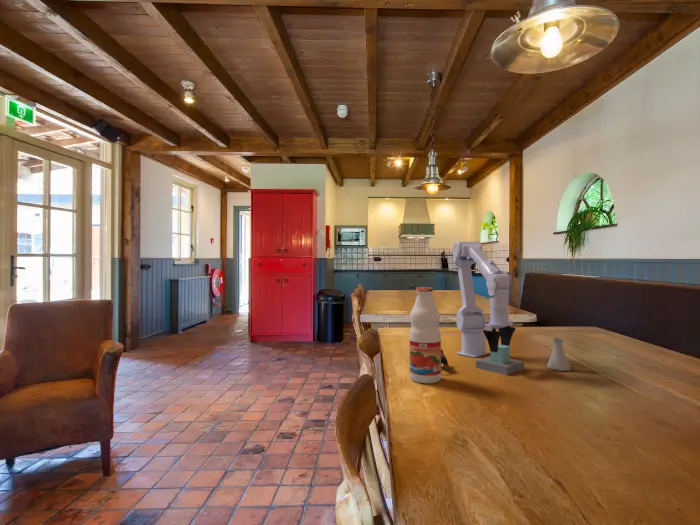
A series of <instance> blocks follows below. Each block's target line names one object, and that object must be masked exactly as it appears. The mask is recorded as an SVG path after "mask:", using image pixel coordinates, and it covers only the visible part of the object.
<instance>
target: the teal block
mask: <svg viewBox="0 0 700 525" xmlns="http://www.w3.org/2000/svg"><path fill="white" fill-rule="evenodd" d="M489 352H490V354H489V357H490V361H493V362H498V363H506V362H509V361H510V359H511V345H509V346H506V345H501V343H500V344H499V343H498V351H497V352H491V351H489Z"/></svg>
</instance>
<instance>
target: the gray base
mask: <svg viewBox="0 0 700 525" xmlns="http://www.w3.org/2000/svg"><path fill="white" fill-rule="evenodd" d="M475 368H476V369H480V370H483V371H487V372H491V373H495V372H496V374H499V373H500V375H503V374H504V376H509V375H512V374H514V373H518V372H520V371H523V370H525V361H523V360H519V359H514V358H510V361H509V362H506V363H498V362H493V361H490V356H487V357H484V358H479V359H477V360H475ZM522 369H523V370H522Z"/></svg>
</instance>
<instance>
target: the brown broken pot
mask: <svg viewBox="0 0 700 525" xmlns="http://www.w3.org/2000/svg"><path fill="white" fill-rule="evenodd" d="M441 365H443V368H444V369H445V372H446V373H448V372H449V371H450V370H451V369H450V365H449V362H448V359H447V357H446V355H445V354H444V350H443V349H442V348H441Z"/></svg>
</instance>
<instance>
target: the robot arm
mask: <svg viewBox="0 0 700 525" xmlns="http://www.w3.org/2000/svg"><path fill="white" fill-rule="evenodd" d="M453 243H454V244H453V246H452V258H453V263H454V264H456V266H457V268H456V269H457V274H458V282H459V288H460V296H461V302H462V303H461V305H462V306H461V307H460V308H459V309H458V310H457V312H456V327H457V328H458V330H459V331H460V333H461V334H460V335H461V350H460V351H458V352H456V355H460V356H461V355H462V356H466V357H470V358H471V357H472V358H477V357H481V356H484V355H487V354H489V353H488V352H487V346H486V345H487V343H488V347H489V350H490V351H491V352H497V351H498V344H499V342H500V345H506V346H511V345H510V344H511V341H512V337H513V335H514V334H515V331H516V327H515V326H513V325H514V324H513V323H514V322H513V320H511V319H509V314H510V313H509V291H510V290H511V288H512V286H513V280H512V279H513V278H512V276H511V275H510V273H507V272H504V271H502V270H501V269H500V268H499V267H498V266H497V264H496V263H495V261H494V260H491V259H490V260H489V259H488V258H487V256H486V255H485V253H484V252H483V245H482V244H481V242H480V241H479V240H478V241H477V240H475V241H459V240H456V241H455V242H453ZM475 263H476V264H477V265H478V266H479V267H478V271H479V272H480V274H481V275H482V277H483V278H484V279H485V280H486V282H485V283H486V285H485V286H486V288H487V294H488V296H489V305H490V306H489V308H490V311H489V312H490V313H489V314H490V315H489V320H490V321H489V322H488V323H487V319H486V317H485V314H484V311H483V309H482V308H480V307H479V306H478V305H477V302H476V294H475V288H474V281H473V274H472V265H473V264H475ZM486 340H487V341H486ZM486 342H487V343H486ZM490 351H489V352H490Z"/></svg>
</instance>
